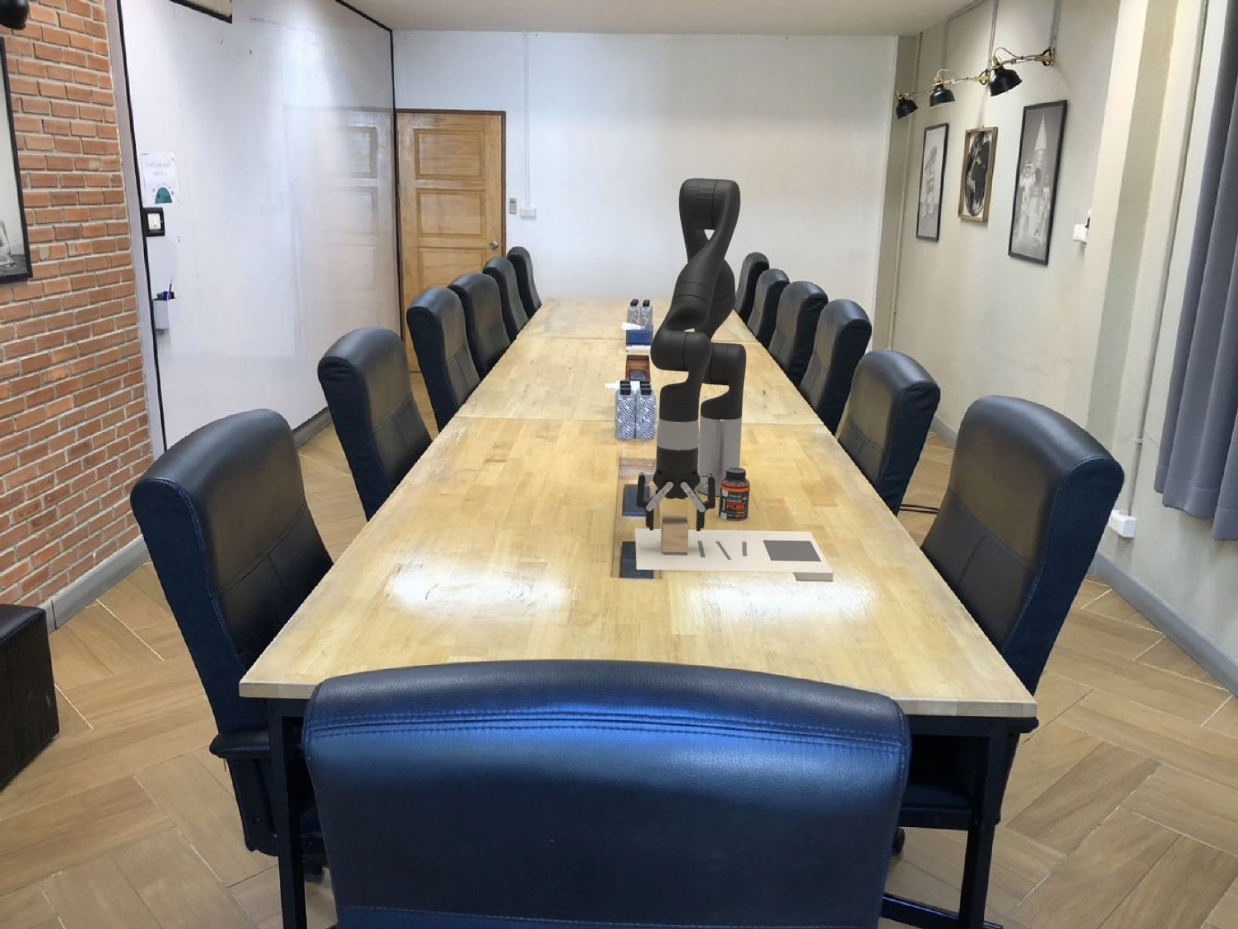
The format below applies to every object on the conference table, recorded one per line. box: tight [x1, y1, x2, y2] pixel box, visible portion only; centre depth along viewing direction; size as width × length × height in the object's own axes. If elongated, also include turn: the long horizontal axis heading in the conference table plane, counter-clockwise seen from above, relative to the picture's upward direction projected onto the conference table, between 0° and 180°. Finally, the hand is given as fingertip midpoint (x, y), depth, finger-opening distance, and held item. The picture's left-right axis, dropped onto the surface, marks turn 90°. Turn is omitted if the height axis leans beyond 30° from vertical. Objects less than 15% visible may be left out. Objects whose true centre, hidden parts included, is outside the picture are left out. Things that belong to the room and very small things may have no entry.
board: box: [634, 528, 834, 582], centre depth 187 cm, size 22×34×2 cm, turn 90°
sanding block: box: [660, 513, 690, 555], centre depth 186 cm, size 7×4×6 cm, turn 0°
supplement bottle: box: [718, 467, 751, 522], centre depth 205 cm, size 6×6×11 cm
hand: (674, 529), depth 185 cm, fingers open, 8 cm apart
